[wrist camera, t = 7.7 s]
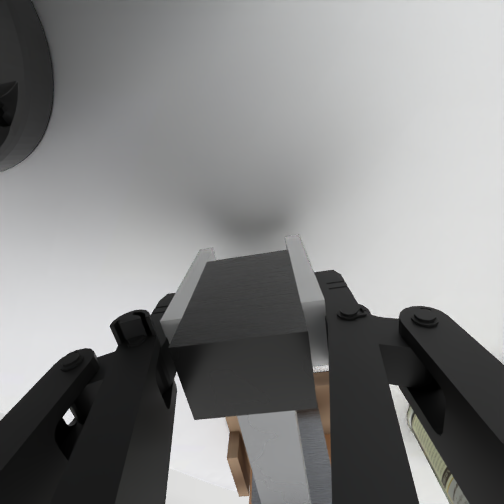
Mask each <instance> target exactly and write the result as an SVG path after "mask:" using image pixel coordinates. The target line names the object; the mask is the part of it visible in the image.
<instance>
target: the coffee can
mask: <svg viewBox="0 0 504 504" xmlns="http://www.w3.org/2000/svg"><path fill="white" fill-rule="evenodd" d="M407 420H408V425H409V427H410V429H411V431H412V432H413V434H414V436H415V437H416V439H417V441H418V443H419V445H420V447H421V449H422V451H423V453H424V455H425V456H426V458H427V460H428V462H429V464H430V466H431V468H432V470H433V472H434V474H435V476H436V478H437V480H438V482H439V484H440V486H441V488H442V490H443V492H444V494H445V495H446V497H447V499H448V501H449V503H450V504H469V502H468V501H467V499H466V497H465V496H464V494H463V492H462V491H461V489H460V487H459V486H458V484H457V482H456V481H455V479H454V477H453V476H452V474H451V472H450V471H449V469H448V468H447V466H446V464H445V463H444V461H443V459H442V458H441V456H440V454H439V453H438V451H437V449H436V448H435V446H434V444H433V443H432V441H431V439H430V438H429V436H428V434H427V433H426V431H425V429H424V428H423V426H422V424H421V423H420V421H419V419H418V418H417V416H416V414H415V413H414V411H413V409H412V408H411V406H410V407H409V411H408V416H407Z"/></svg>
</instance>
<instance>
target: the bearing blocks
mask: <svg viewBox="0 0 504 504" xmlns="http://www.w3.org/2000/svg"><path fill="white" fill-rule="evenodd" d="M296 412H297V418H298V424H299V430H300V436H301V442H302V448H303V455H304V461H305V467H306V473H307V479H308V485H309V491H310V497H311V504H332V482H331V464H330V459H329V455H328V450H327V445H326V441H325V436H324V431H323V426H322V422H321V417H320V412H319V408H318V403H317V408H315V409H305V410H296ZM251 504H261V501H260V497H259V493H258V490H257V486H256V483H255V479H254V476H253V472H252V500H251Z"/></svg>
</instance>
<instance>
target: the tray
mask: <svg viewBox="0 0 504 504" xmlns="http://www.w3.org/2000/svg"><path fill="white" fill-rule="evenodd" d="M313 376H314V384H315V392H316V400H317V403H318V408H319V412H320V417H321V422H322V426H323V431H324V435H325V434H330V393H329V371H328V372H318V373H313ZM226 421H227V424H228V427H229V431H230V435H229V444H228V453H227V460H228V463H229V466H230V469H231V472H232V475H233V479H234V482H235V485H236V488H237V491H238V494H239V496H249V486H250V475H251V465H250V461H249V458H248V454H247V451H246V447H245V443H244V440H243V436H242V433H241V429H240V426H239V422H238V418H237V416H231V417H226Z"/></svg>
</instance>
